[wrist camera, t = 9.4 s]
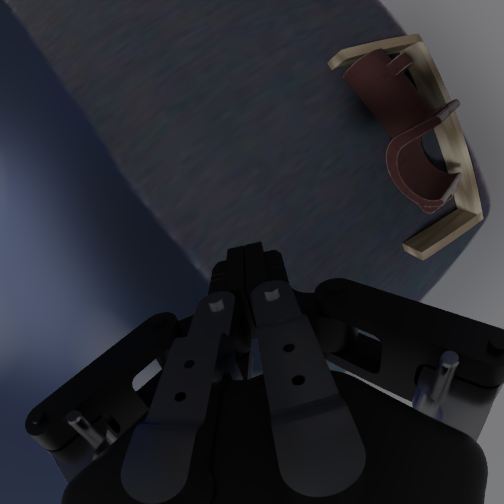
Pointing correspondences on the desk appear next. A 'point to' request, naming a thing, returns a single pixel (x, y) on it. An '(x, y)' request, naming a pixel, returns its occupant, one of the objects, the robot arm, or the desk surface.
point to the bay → (446, 134)
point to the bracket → (404, 126)
